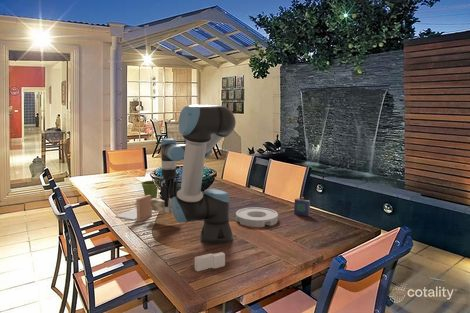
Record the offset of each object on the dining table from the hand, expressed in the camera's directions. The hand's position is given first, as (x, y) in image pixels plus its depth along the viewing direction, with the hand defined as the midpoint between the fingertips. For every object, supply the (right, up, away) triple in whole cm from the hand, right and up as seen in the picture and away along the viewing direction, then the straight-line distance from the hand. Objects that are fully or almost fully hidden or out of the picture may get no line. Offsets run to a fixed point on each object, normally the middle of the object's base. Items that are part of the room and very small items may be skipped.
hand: (169, 211), depth 188 cm
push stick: (-2, 0, +1) cm, 2 cm away
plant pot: (-21, +1, +47) cm, 51 cm away
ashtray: (+47, -6, +6) cm, 48 cm away
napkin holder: (+26, -15, -51) cm, 59 cm away
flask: (+74, -5, +16) cm, 75 cm away
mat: (-23, -4, +13) cm, 27 cm away
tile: (-15, -5, +8) cm, 18 cm away
